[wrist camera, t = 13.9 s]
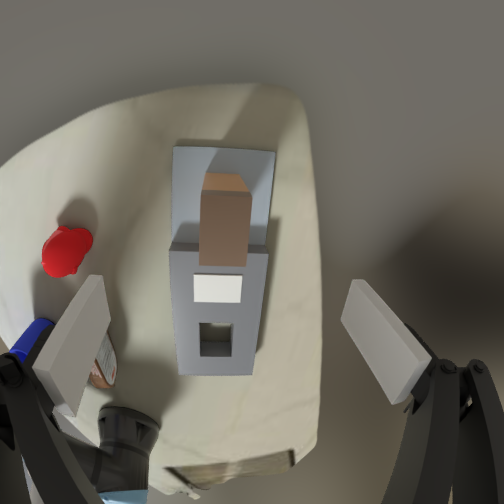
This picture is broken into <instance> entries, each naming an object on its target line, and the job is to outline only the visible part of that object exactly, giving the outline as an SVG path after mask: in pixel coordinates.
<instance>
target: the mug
mask: <svg viewBox="0 0 504 504" xmlns="http://www.w3.org/2000/svg"><path fill="white" fill-rule="evenodd" d="M50 324H51V325H54V324H53V323H52V322H50V321H49V320H47V319H43V318H39V319H36V320H35V321H33V322H32V324H31V325H30V326H29V327H28V328H27V329H26V331H25V332H24V333H23V334H22V336H21V337H20V338H19V339H18V341H17V342H16V343H15V344H14V346H13V347H12V348H11V349H10V351H9V352H10V353H15V354H16V355H18V357H19V359H20V361H21V363H23V362H24V360H25V358H26V356H27V355H28V353H29V351H30V349H31V348H32V347H33V344H34V343H35V341H36V340H37V338H38V336H39V335H40V333H41V331H42V330H44V329H45V328H46V327H47V326H48V325H50Z"/></svg>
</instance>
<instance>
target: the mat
mask: <svg viewBox="0 0 504 504" xmlns="http://www.w3.org/2000/svg"><path fill="white" fill-rule="evenodd" d="M274 162H275V152H272V151H261V150H250V149H236V148H219V147H193V146H174V147H173V166H172V242H181V243H199V228H200V199H201V191H202V186H203V181H204V177H205V173H226V174H239V175H240V176H241V178H242V180H243V181H244V183H245V185H246V187H247V188H248V190H249V192H250V193H251V195H252V197H253V200H252V210H251V221H250V232H249V242H248V245H265V241H266V232H267V224H268V215H269V207H270V198H271V189H272V180H273V171H274Z"/></svg>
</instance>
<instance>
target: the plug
mask: <svg viewBox="0 0 504 504" xmlns="http://www.w3.org/2000/svg"><path fill="white" fill-rule="evenodd" d="M252 200H253V197H252V195H251V193H250V192H249V190H248V188H247V187H246V185H245V183H244V181H243V180H242V178H241V176H240V175H239V174H226V173H205V177H204V181H203V186H202V191H201V199H200V228H199V266H233V267H246V264H247V253H248V242H249V232H250V221H251V210H252Z"/></svg>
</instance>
